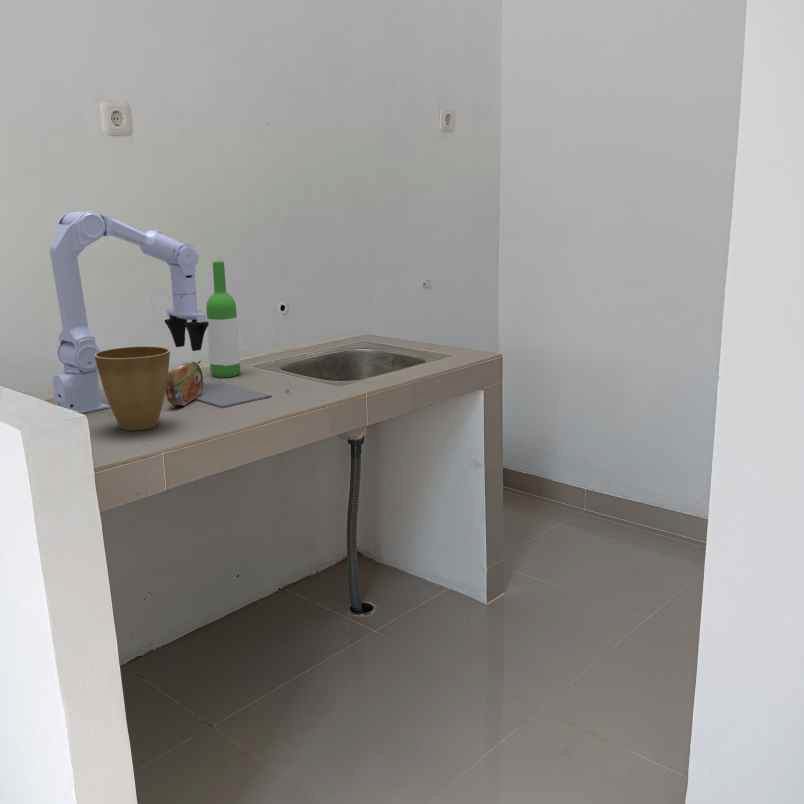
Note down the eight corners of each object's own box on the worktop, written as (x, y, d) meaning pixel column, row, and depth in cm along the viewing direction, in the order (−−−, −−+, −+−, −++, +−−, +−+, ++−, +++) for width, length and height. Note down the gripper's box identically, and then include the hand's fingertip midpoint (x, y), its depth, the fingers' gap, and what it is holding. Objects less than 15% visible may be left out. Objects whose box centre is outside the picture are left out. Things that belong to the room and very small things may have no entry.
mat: (222, 407, 196) (221, 406, 195) (171, 392, 211) (170, 391, 211) (271, 396, 205) (271, 395, 205) (219, 383, 220) (219, 381, 220)
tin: (178, 410, 194) (173, 374, 192) (165, 410, 195) (160, 374, 192) (205, 392, 208) (201, 358, 206) (193, 392, 209) (189, 358, 206)
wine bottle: (217, 371, 234) (209, 260, 227) (244, 372, 233) (237, 260, 225) (206, 378, 226) (198, 262, 219) (234, 378, 225) (227, 262, 218)
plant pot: (184, 429, 179) (178, 353, 175) (110, 440, 172) (102, 361, 168) (164, 413, 191) (158, 342, 188) (95, 423, 184) (87, 349, 180)
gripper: (215, 294, 207) (218, 349, 211) (182, 289, 217) (186, 342, 221) (189, 296, 203) (193, 353, 206) (157, 292, 212) (162, 346, 216)
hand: (188, 348), depth 213 cm, fingers open, 7 cm apart
